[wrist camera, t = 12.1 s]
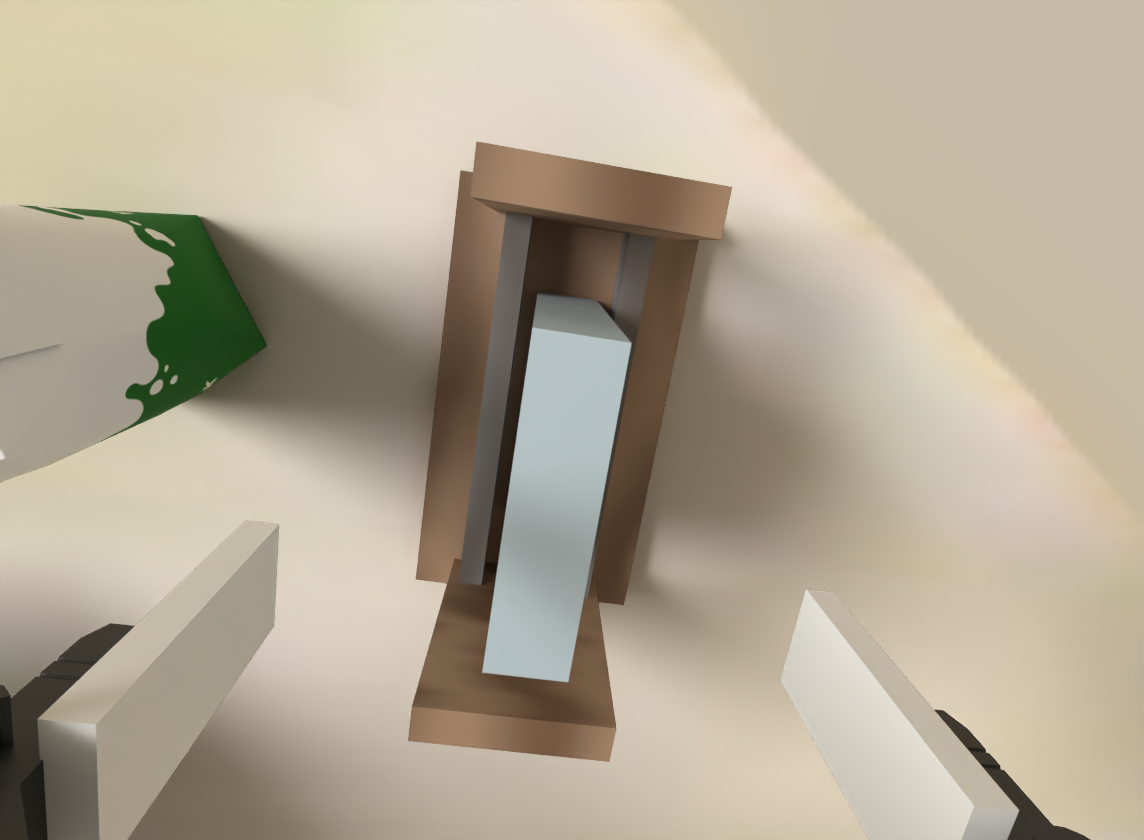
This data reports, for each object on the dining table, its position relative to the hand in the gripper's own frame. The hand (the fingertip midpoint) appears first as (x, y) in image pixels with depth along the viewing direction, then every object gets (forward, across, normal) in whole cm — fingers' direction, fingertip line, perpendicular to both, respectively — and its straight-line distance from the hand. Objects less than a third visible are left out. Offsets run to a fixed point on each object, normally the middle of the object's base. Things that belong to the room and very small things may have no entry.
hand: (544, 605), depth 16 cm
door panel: (+19, 0, 0) cm, 19 cm away
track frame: (+20, 0, 0) cm, 21 cm away
